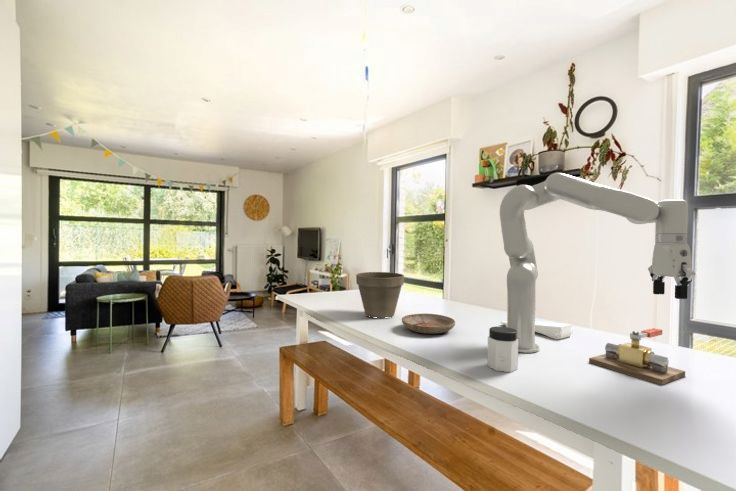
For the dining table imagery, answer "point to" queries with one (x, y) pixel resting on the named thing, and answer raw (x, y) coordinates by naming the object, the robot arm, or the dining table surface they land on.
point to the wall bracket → (552, 329)
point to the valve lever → (645, 334)
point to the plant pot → (379, 292)
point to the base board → (638, 370)
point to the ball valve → (637, 356)
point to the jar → (503, 349)
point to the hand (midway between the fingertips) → (669, 296)
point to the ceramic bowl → (428, 323)
